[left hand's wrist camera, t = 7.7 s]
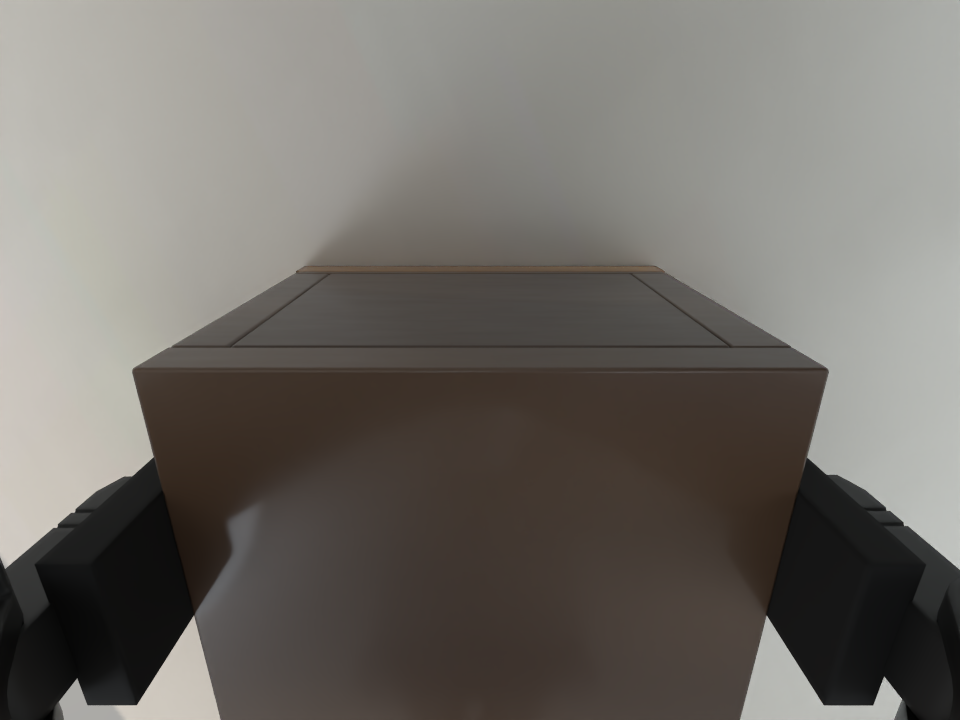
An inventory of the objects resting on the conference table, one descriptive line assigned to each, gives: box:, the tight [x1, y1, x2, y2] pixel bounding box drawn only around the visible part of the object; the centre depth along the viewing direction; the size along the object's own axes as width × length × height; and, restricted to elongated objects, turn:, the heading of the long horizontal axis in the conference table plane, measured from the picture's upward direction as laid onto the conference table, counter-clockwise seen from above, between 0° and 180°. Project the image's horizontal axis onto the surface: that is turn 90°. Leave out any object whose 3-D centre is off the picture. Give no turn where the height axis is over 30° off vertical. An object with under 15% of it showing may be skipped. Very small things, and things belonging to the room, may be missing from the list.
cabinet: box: [132, 266, 829, 720], centre depth 14 cm, size 13×11×8 cm
